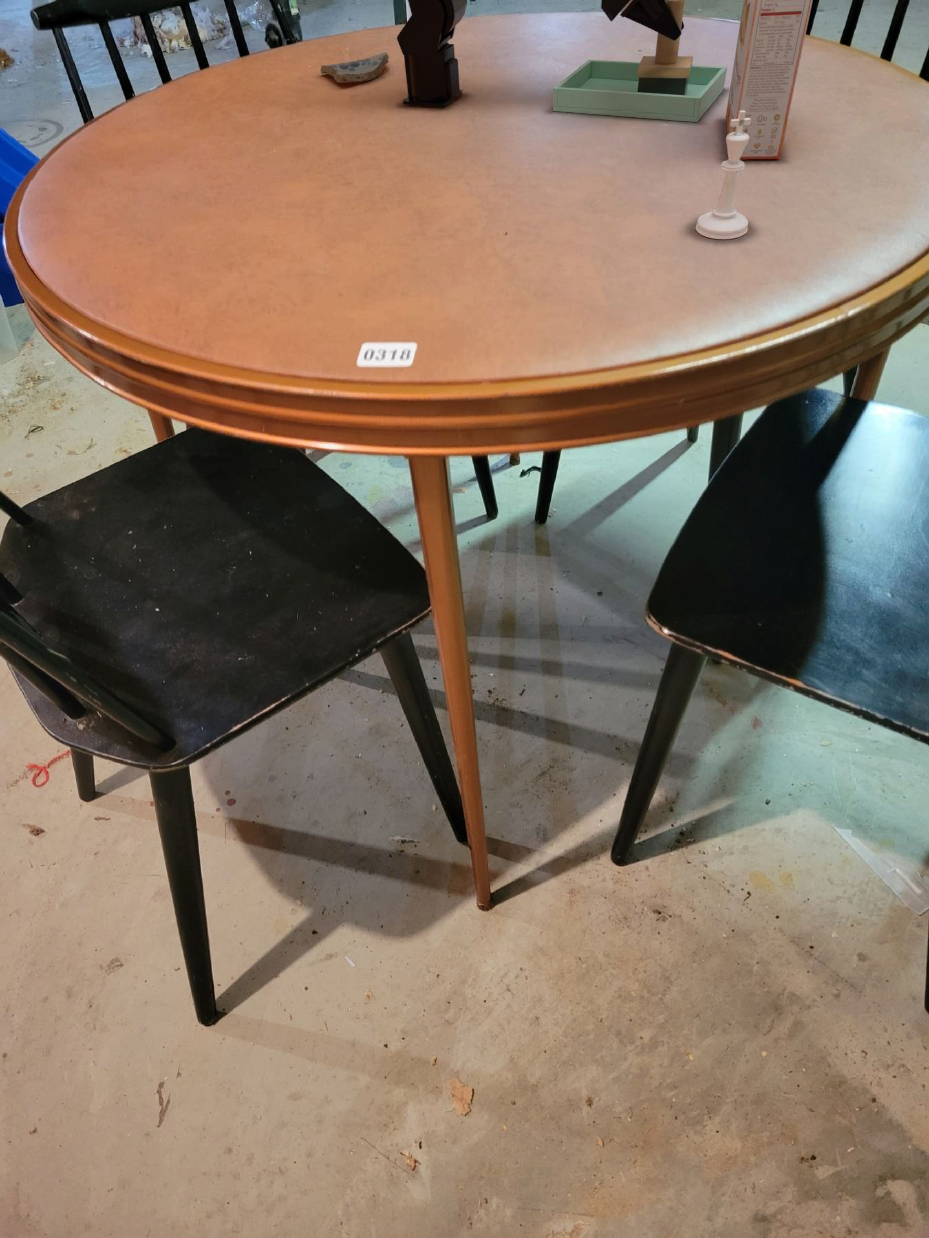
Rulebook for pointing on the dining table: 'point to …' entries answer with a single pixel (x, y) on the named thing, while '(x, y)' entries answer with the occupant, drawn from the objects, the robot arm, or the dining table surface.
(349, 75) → the ceramic fragment
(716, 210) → the chess piece
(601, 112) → the tray
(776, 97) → the cracker box
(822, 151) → the dining table surface
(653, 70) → the scrub brush
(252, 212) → the dining table surface
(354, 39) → the dining table surface
